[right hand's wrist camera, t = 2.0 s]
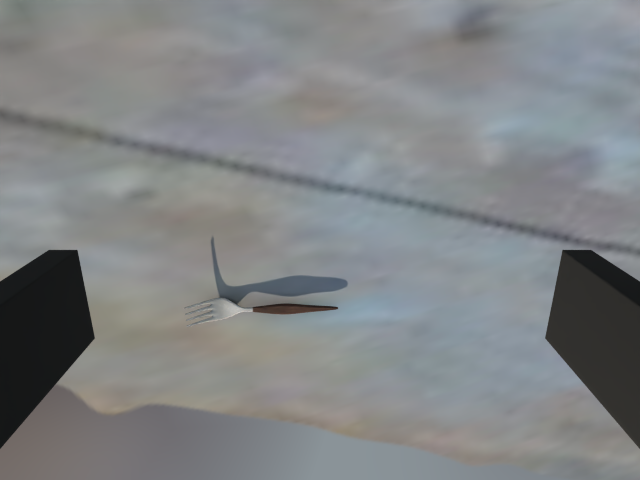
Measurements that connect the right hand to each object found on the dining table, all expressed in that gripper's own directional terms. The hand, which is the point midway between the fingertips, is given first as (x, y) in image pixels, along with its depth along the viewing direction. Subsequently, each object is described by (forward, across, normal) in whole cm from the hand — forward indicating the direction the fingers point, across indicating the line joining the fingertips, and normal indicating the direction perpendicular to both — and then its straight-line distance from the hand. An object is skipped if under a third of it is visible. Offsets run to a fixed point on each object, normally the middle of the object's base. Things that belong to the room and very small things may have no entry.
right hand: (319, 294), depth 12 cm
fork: (+32, +6, +18) cm, 38 cm away
